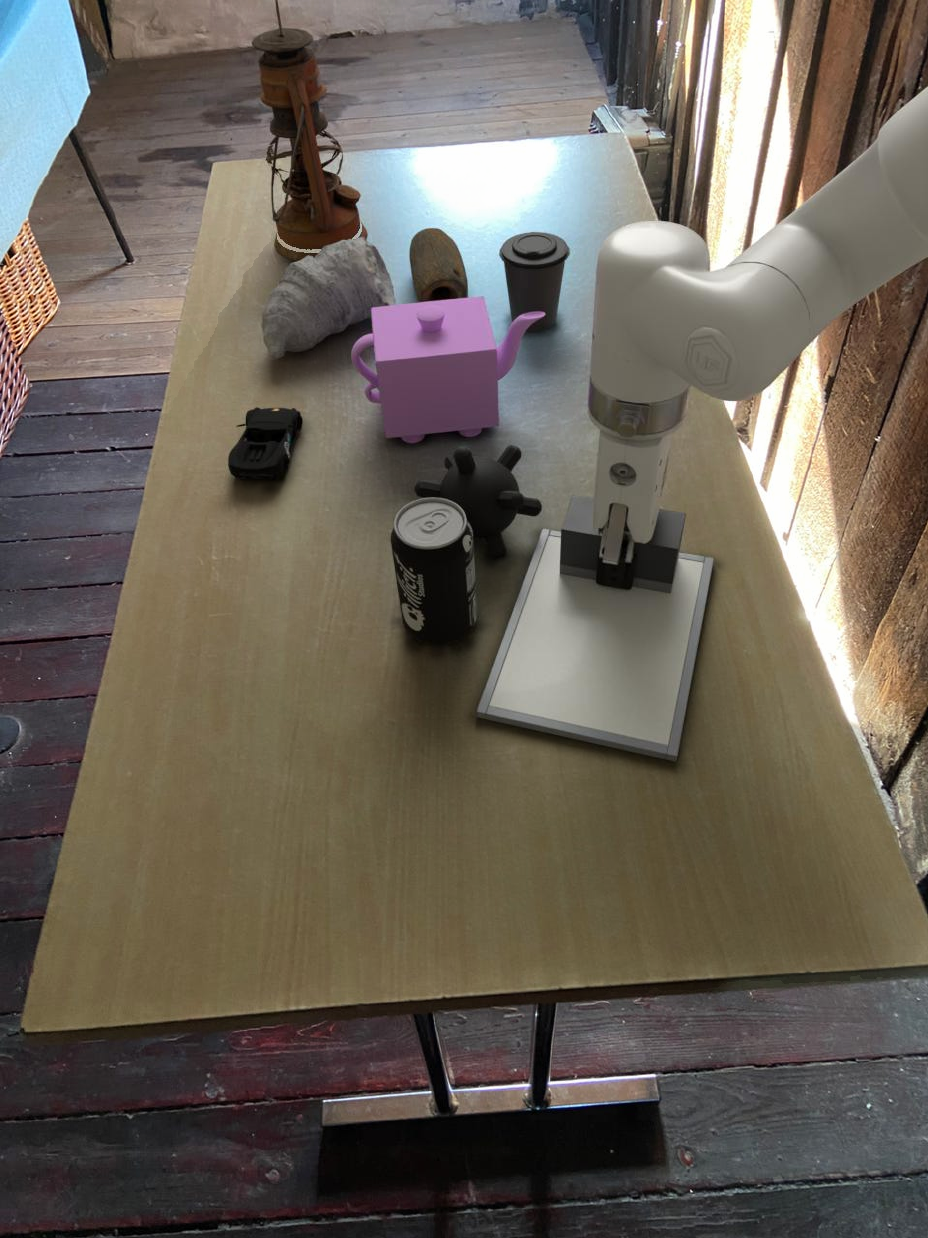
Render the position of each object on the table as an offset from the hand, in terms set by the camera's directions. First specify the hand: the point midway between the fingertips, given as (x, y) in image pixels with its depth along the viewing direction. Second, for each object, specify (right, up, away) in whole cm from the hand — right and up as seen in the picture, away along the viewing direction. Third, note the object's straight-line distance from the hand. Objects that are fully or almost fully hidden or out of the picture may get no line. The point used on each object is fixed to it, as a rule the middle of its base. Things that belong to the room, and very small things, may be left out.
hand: (619, 562), depth 84 cm
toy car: (-35, +12, +15) cm, 40 cm away
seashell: (-30, +30, +30) cm, 51 cm away
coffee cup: (-6, +31, +29) cm, 43 cm away
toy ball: (-13, +3, +6) cm, 14 cm away
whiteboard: (-2, -7, -4) cm, 8 cm away
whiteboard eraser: (0, 0, 0) cm, 0 cm away
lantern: (-34, +48, +46) cm, 74 cm away
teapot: (-15, +17, +18) cm, 29 cm away
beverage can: (-16, -5, -2) cm, 17 cm away
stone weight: (-17, +36, +34) cm, 52 cm away
